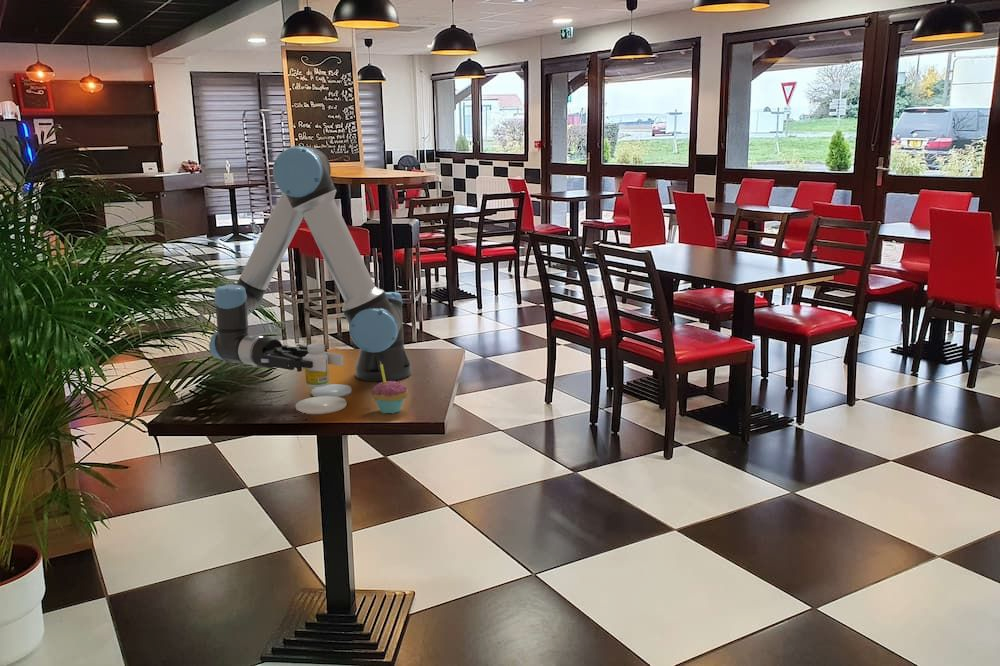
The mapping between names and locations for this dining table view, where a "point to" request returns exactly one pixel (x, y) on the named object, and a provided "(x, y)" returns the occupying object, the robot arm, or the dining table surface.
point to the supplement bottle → (314, 376)
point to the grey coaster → (332, 390)
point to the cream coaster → (321, 405)
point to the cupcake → (389, 394)
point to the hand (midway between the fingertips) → (333, 363)
